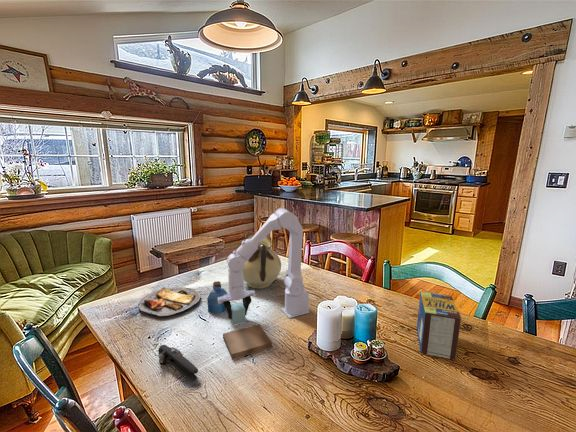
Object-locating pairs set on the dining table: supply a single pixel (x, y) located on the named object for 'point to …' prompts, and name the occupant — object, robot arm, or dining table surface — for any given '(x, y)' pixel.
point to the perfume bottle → (216, 298)
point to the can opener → (177, 362)
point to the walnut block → (246, 341)
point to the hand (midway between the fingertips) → (237, 315)
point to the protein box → (438, 325)
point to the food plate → (169, 300)
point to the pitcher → (261, 264)
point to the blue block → (237, 313)
